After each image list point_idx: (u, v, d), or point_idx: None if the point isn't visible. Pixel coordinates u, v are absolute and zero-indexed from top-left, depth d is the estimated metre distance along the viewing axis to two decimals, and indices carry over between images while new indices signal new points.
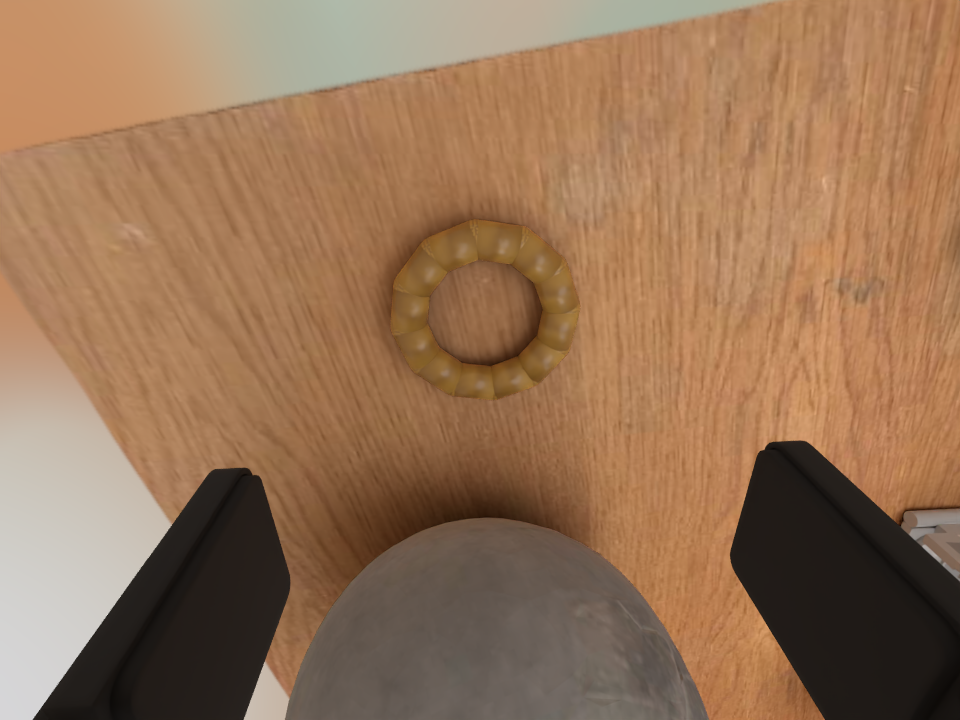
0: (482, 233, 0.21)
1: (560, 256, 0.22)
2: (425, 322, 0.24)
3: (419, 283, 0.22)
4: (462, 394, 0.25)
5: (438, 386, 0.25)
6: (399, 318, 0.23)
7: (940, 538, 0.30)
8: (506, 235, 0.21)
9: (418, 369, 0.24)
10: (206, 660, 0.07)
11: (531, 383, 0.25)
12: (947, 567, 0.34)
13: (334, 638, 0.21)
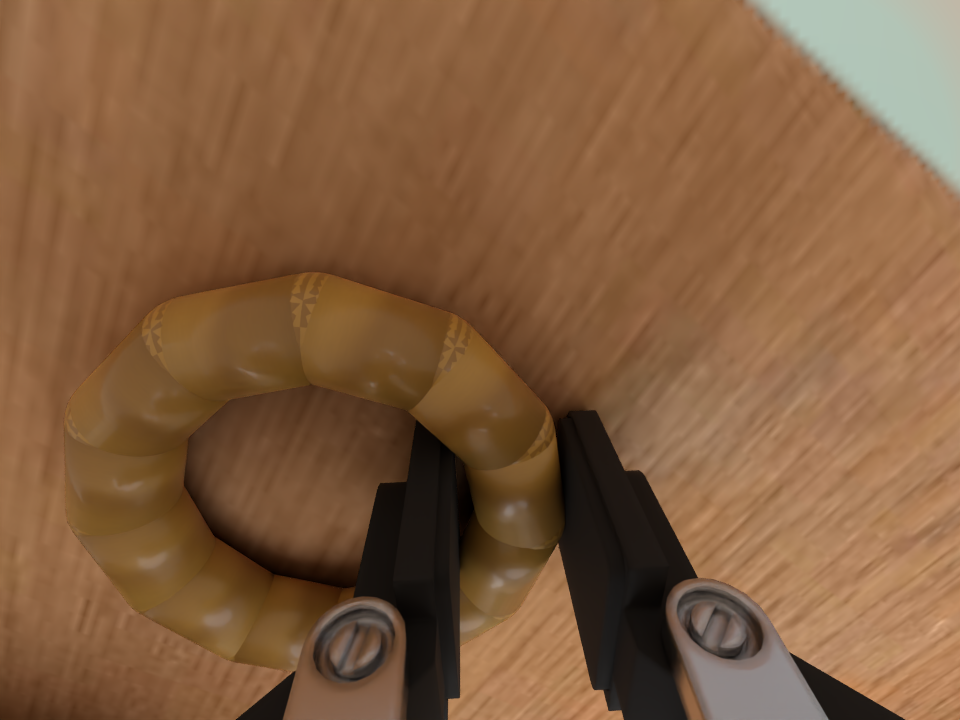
0: (463, 377, 0.07)
1: (564, 510, 0.09)
2: (176, 444, 0.08)
3: (215, 369, 0.07)
4: (158, 623, 0.10)
5: (110, 580, 0.09)
6: (100, 406, 0.07)
7: None
8: (507, 416, 0.08)
9: (78, 529, 0.09)
10: (454, 568, 0.08)
11: None
12: None
13: None
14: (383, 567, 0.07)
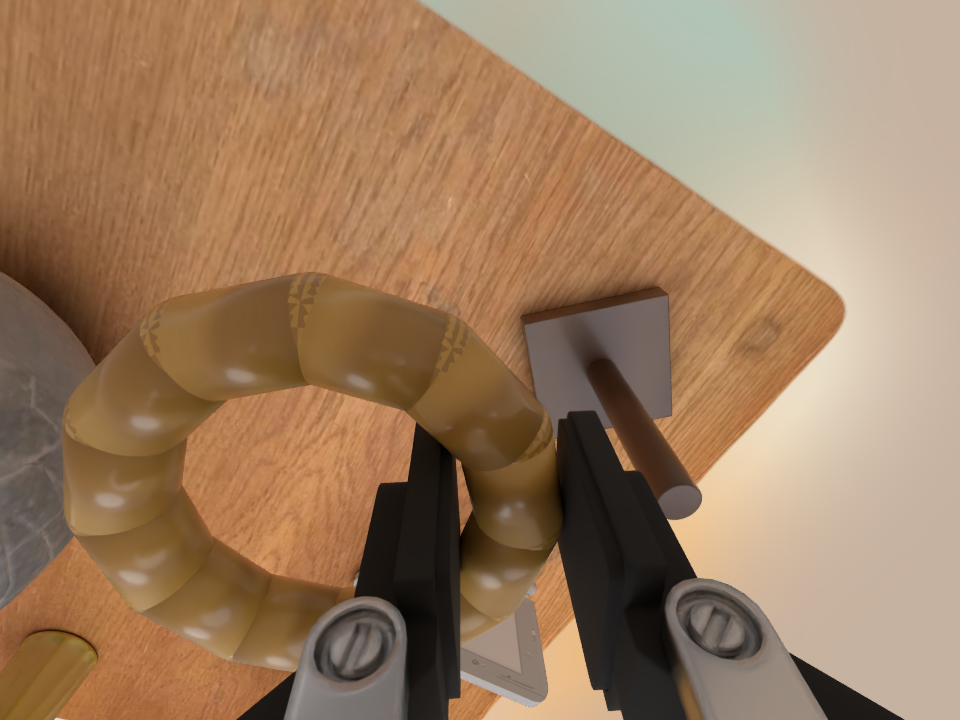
0: (461, 378, 0.07)
1: (562, 511, 0.09)
2: (174, 444, 0.08)
3: (212, 369, 0.07)
4: (156, 622, 0.10)
5: (109, 579, 0.09)
6: (98, 405, 0.07)
7: None
8: (505, 417, 0.08)
9: (76, 528, 0.09)
10: (454, 568, 0.08)
11: None
12: None
13: None
14: (384, 567, 0.07)
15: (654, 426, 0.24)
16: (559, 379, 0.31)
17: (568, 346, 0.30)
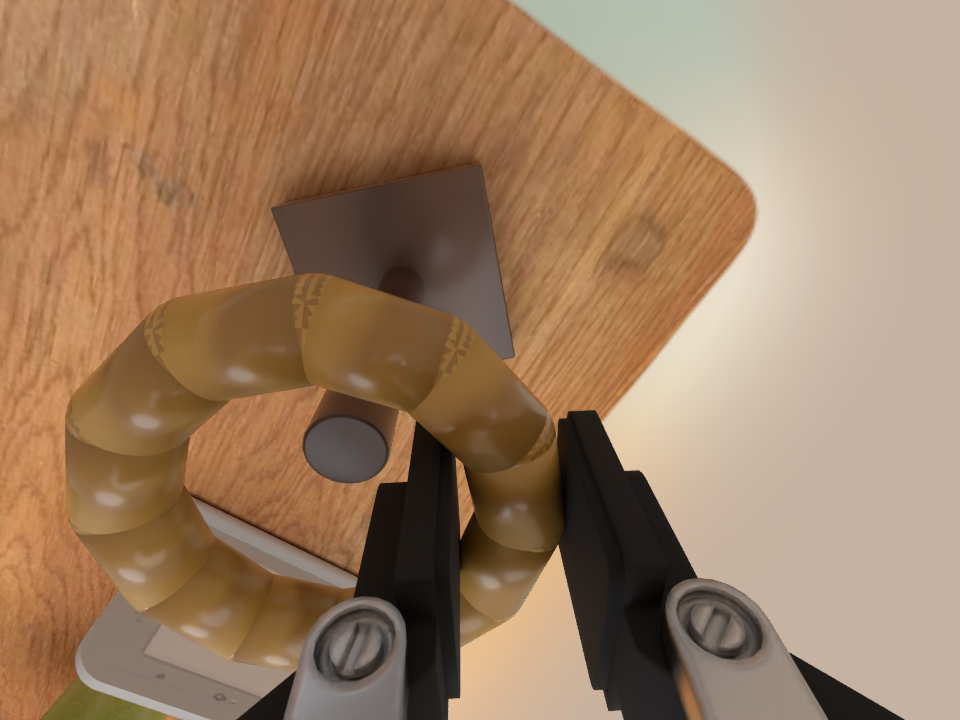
0: (464, 379, 0.07)
1: (564, 513, 0.09)
2: (177, 443, 0.08)
3: (216, 370, 0.07)
4: (158, 621, 0.10)
5: None
6: (101, 405, 0.07)
7: None
8: (508, 419, 0.08)
9: (78, 527, 0.09)
10: (454, 568, 0.08)
11: None
12: None
13: None
14: (383, 567, 0.07)
15: None
16: None
17: (344, 245, 0.21)
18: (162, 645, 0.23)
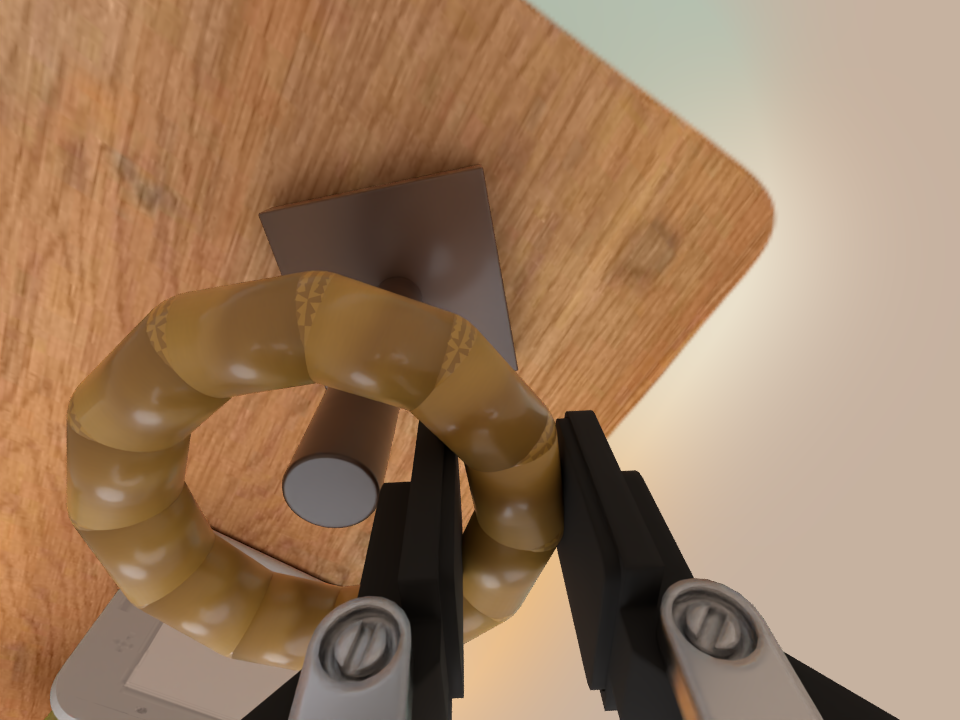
0: (466, 378, 0.07)
1: None
2: (178, 440, 0.08)
3: (219, 366, 0.07)
4: (157, 618, 0.10)
5: (110, 574, 0.09)
6: (103, 400, 0.07)
7: None
8: (510, 418, 0.08)
9: (79, 523, 0.09)
10: (458, 567, 0.08)
11: None
12: None
13: None
14: (387, 567, 0.07)
15: None
16: None
17: (337, 253, 0.20)
18: (144, 676, 0.21)
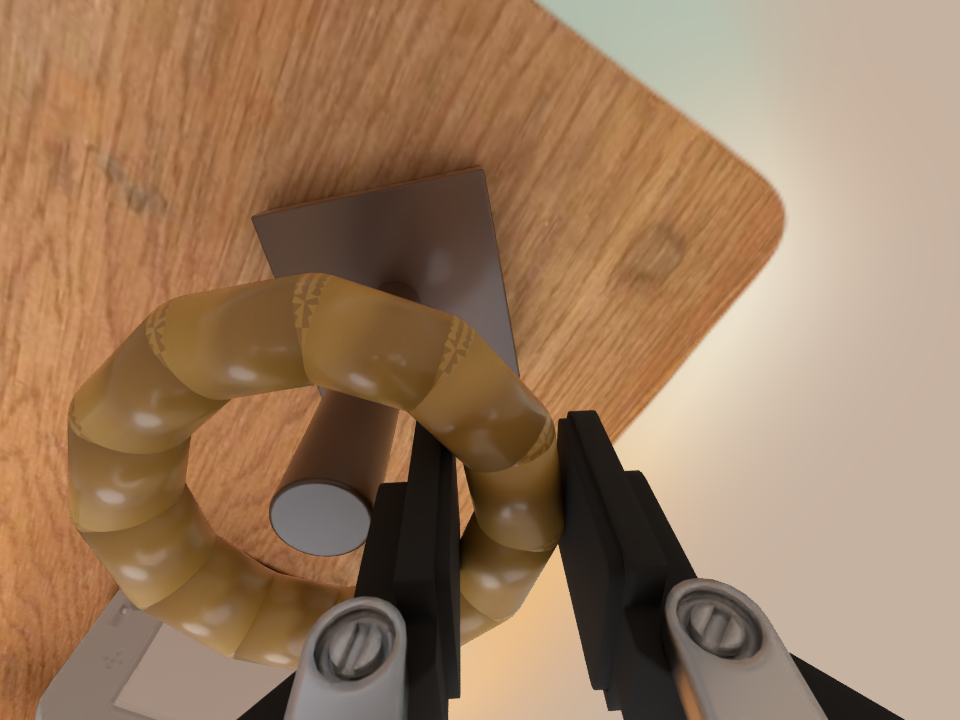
0: (464, 379, 0.07)
1: (564, 513, 0.09)
2: (178, 441, 0.08)
3: (217, 369, 0.07)
4: (159, 619, 0.10)
5: (112, 575, 0.09)
6: (103, 403, 0.07)
7: None
8: (508, 418, 0.08)
9: (80, 525, 0.09)
10: (455, 568, 0.08)
11: None
12: None
13: None
14: (383, 567, 0.07)
15: None
16: None
17: (332, 257, 0.19)
18: (134, 694, 0.21)
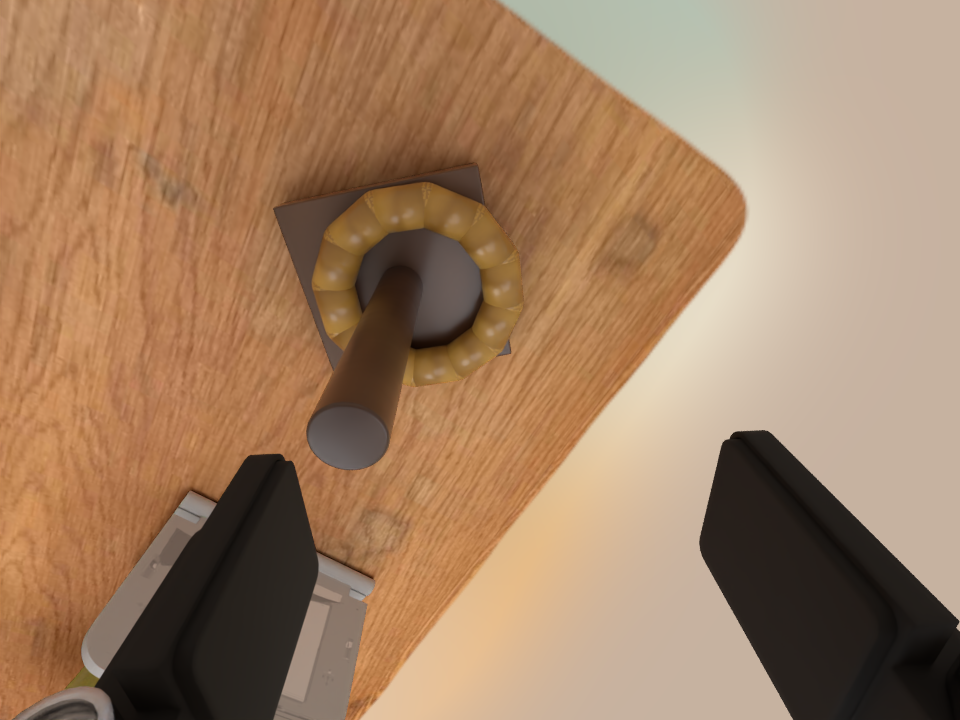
0: (483, 223, 0.20)
1: (522, 298, 0.22)
2: (364, 252, 0.20)
3: (392, 214, 0.19)
4: (340, 343, 0.22)
5: (324, 318, 0.21)
6: (345, 228, 0.19)
7: (178, 523, 0.27)
8: (499, 243, 0.20)
9: (320, 288, 0.21)
10: (250, 633, 0.07)
11: (409, 381, 0.23)
12: None
13: None
14: None
15: (389, 332, 0.15)
16: None
17: None
18: None
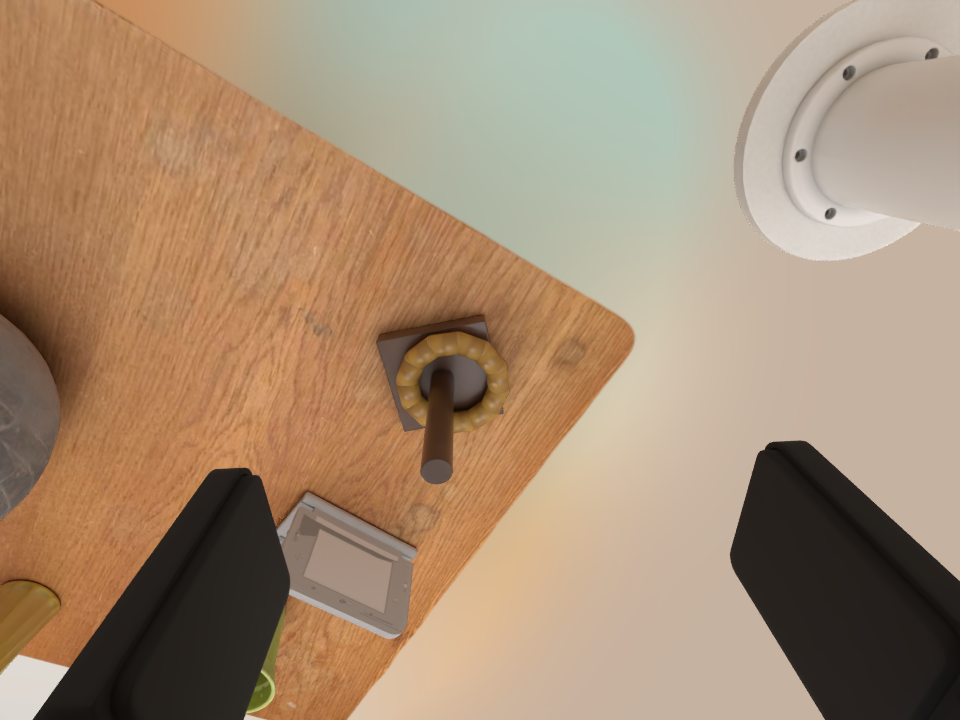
0: (488, 353, 0.38)
1: (509, 387, 0.40)
2: None
3: (441, 350, 0.37)
4: (410, 411, 0.40)
5: (402, 399, 0.39)
6: (416, 356, 0.38)
7: (304, 511, 0.46)
8: (496, 362, 0.38)
9: (401, 384, 0.39)
10: (205, 660, 0.07)
11: None
12: None
13: None
14: None
15: (445, 420, 0.34)
16: None
17: None
18: (311, 573, 0.41)
